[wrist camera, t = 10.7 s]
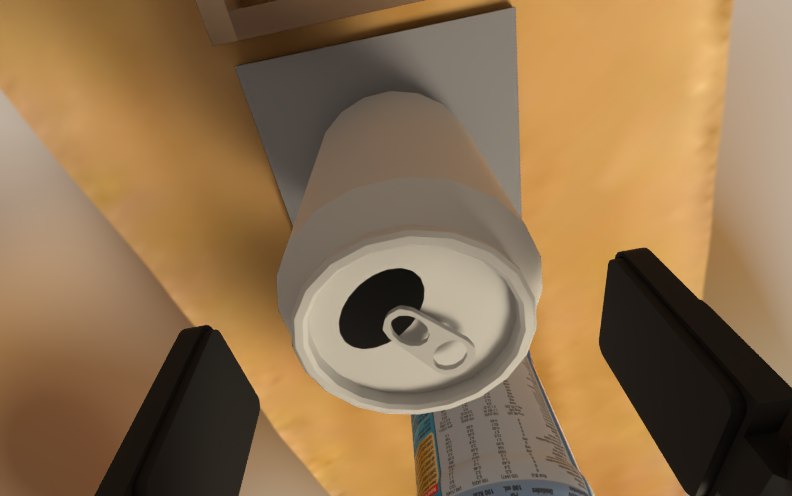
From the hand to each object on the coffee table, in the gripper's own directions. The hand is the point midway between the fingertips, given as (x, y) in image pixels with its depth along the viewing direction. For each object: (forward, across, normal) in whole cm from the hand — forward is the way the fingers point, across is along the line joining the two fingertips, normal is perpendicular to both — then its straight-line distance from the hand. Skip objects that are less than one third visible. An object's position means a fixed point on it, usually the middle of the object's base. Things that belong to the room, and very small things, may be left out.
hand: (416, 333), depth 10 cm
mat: (+12, 0, +1) cm, 12 cm away
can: (+12, 0, +1) cm, 12 cm away
